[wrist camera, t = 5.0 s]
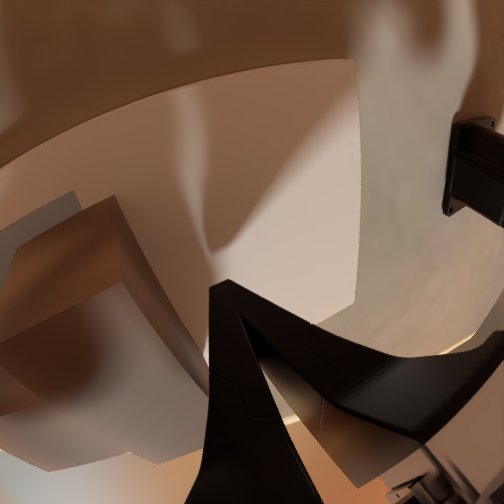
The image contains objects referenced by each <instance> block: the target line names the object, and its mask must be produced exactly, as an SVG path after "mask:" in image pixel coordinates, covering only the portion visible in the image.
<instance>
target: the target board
mask: <svg viewBox="0 0 504 504" xmlns="http://www.w3.org/2000/svg"><path fill="white" fill-rule="evenodd" d="M112 195H115V197H116V199H117V201H118V204H119V206H120V208H121V210H122V212H123V214H124V216H125V218H126V220H127V222H128V224H129V226H130V228H131V230H132V232H133V234H134V236H135V238H136V240H137V242H138V244H139V246H140V248H141V250H142V252H143V254H144V255H145V257H146V259H147V261H148V263H149V265H150V267H151V268H152V270H153V272H154V274H155V276H156V278H157V279H158V281H159V283H160V285H161V286H162V288H163V290H164V292H165V293H166V295H167V297H168V299H169V300H170V302H171V304H172V306H173V307H174V309H175V311H176V312H177V314H178V316H179V317H180V319H181V321H182V322H183V324H184V326H185V327H186V329H187V330H188V332H189V334H190V335H191V337H192V338H193V340H194V342H195V343H196V345H197V346H198V348H199V349H200V351H201V353H202V354H203V356H204V358H205V360H206V363H207V365H208V367H209V348H208V312H209V287H210V286H212V285H215V284H217V283H219V282H221V281H224V280H226V279H231V280H232V281H234V282H236V283H238V284H240V285H242V286H243V287H245V288H247V289H249V290H251V291H252V292H254V293H256V294H258V295H260V296H262V297H264V298H265V299H267V300H269V301H271V302H273V303H275V304H276V305H278V306H280V307H282V308H284V309H286V310H288V311H290V312H291V313H293V314H295V315H297V316H299V317H301V318H303V319H305V320H307V321H309V322H310V323H311V324H315V325H316V324H318V323H320V322H321V321H323V320H325V319H327V318H328V317H330V316H332V315H334V314H335V313H337V312H339V311H341V310H342V309H344V308H346V307H348V306H349V305H351V304H353V303H354V298H355V288H356V277H357V264H358V249H359V231H360V200H361V155H360V125H359V107H358V93H357V81H356V71H355V61H354V60H350V59H326V60H315V61H305V62H297V63H289V64H282V65H275V66H269V67H263V68H257V69H252V70H246V71H241V72H236V73H232V74H227V75H223V76H218V77H214V78H210V79H206V80H202V81H199V82H195V83H191V84H188V85H184V86H181V87H177V88H174V89H171V90H167V91H164V92H161V93H158V94H155V95H152V96H149V97H146V98H143V99H141V100H138V101H135V102H132V103H130V104H127V105H124V106H122V107H119V108H117V109H114V110H112V111H109V112H107V113H104V114H102V115H100V116H97V117H95V118H93V119H91V120H88V121H86V122H84V123H82V124H80V125H77V126H75V127H73V128H71V129H69V130H67V131H65V132H63V133H61V134H59V135H57V136H55V137H53V138H51V139H49V140H48V141H46V142H44V143H42V144H40V145H38V146H37V147H35V148H33V149H31V150H30V151H28V152H26V153H24V154H23V155H21V156H19V157H18V158H16V159H14V160H13V161H11V162H10V163H8V164H6V165H5V166H3V167H2V168H0V293H1V290H2V287H3V284H4V281H5V278H6V276H7V273H8V270H9V268H10V265H11V262H12V260H13V257H14V255H15V252H16V250H17V248H18V247H20V246H21V245H23V244H25V243H26V242H28V241H29V240H31V239H33V238H34V237H36V236H38V235H39V234H41V233H43V232H45V231H46V230H48V229H50V228H51V227H53V226H55V225H57V224H58V223H60V222H62V221H64V220H66V219H68V218H69V217H71V216H73V215H75V214H77V213H79V212H80V211H82V210H84V209H86V208H88V207H90V206H92V205H94V204H96V203H98V202H100V201H102V200H104V199H106V198H108V197H110V196H112Z"/></svg>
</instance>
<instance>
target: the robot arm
mask: <svg viewBox="0 0 504 504" xmlns="http://www.w3.org/2000/svg"><path fill="white" fill-rule="evenodd" d="M494 129H495V119H494V118H493V117H490V116H486V117H481V118H476V119H471V120H466V121H461V122H457V123H456V124H455V125H454V128H453V139H452V150H451V159H450V168H449V176H448V183H447V189H446V196H445V201H444V207H443V214H445V215H446V216H448V217H450V216H451V215H453V214H454V213H456V212H457V211H459V210H461V209H462V208H464V207H465V206H467V207H469V208H471V209H472V210H474V211H476V212H477V213H479V214H481V215H482V216H484V217H485V218H487V219H489V220H490V221H492V222H493V223H495V224H496V225H498V226H501V227H502V228H504V135H502V134H500V133H498V132H495V131H494ZM208 348H209V401H208V412H207V422H206V430H205V438H204V446H203V454H202V461H201V465H200V470H199V472H198V475H197V478H196V480H195V482H194V484H193V486H192V488H191V490H190V492H189V494H188V497H187V499H186V501H185V503H184V504H324V502H323V501H322V499H321V497H320V495H319V493H318V491H317V489H316V487H315V485H314V484H313V482H312V480H311V478H310V476H309V474H308V472H307V470H306V468H305V466H304V464H303V462H302V460H301V458H300V456H299V454H298V452H297V450H296V448H295V446H294V444H293V442H292V440H291V438H290V436H289V433H288V431H287V429H286V427H285V424H284V422H283V420H282V417H281V415H280V413H279V410H278V408H277V406H276V403H275V401H274V398H273V396H272V394H271V391H270V389H269V386H268V384H267V381H266V379H265V376H264V374H263V372H262V370H263V371H264V372H265V374H266V375H267V376H268V378H269V379H270V381H271V382H272V383H273V385H274V386H275V387H276V389H277V390H278V391H279V393H280V394H281V395H282V397H283V398H284V399H285V401H286V402H287V403H288V404H289V406H290V407H291V408H292V410H293V411H294V412H295V414H296V415H297V416H298V417H299V419H300V420H301V421H302V422H303V424H304V425H305V426H306V428H307V429H308V430H309V431H310V433H311V434H312V435H313V436H314V438H315V439H316V440H317V441H318V442H319V444H320V445H321V446H322V448H323V449H324V450H325V451H326V452H327V454H328V455H329V456H330V457H331V459H332V460H333V461H334V462H335V463H336V465H337V466H338V467H339V468H340V469H341V470H342V472H343V473H344V474H345V475H346V476H347V477H348V478H349V480H350V481H351V482H352V483H353V484H354V486H355V487H357V489H358V488H360V487H362V486H363V485H365V484H367V483H368V482H370V481H372V480H374V479H375V478H377V477H378V476H379V477H380V478H381V479H382V481H383V482H384V483H385V485H386V486H387V487H388V489H389V490H390V492H389V493H387V494H386V497H387V499H388V500H389V501H390V503H391V504H504V330H495V331H494V332H493V333H492V334H491V335H490V336H489V337H488V338H487V339H486V341H485V342H484V343H483V344H482V345H480V346H479V347H477V348H474V349H472V350H469V351H464V352H458V353H450V354H442V355H433V356H423V357H412V358H405V357H397V356H393V355H389V354H386V353H383V352H380V351H377V350H375V349H372V348H369V347H366V346H363V345H360V344H358V343H355V342H352V341H350V340H347V339H344V338H342V337H339V336H337V335H335V334H333V333H330V332H328V331H326V330H324V329H322V328H320V327H318V326H316V325H315V324H311V323H310V322H309V321H307V320H305V319H303V318H301V317H299V316H297V315H295V314H293V313H291V312H290V311H288V310H286V309H284V308H282V307H280V306H278V305H276V304H275V303H273V302H271V301H269V300H267V299H265V298H264V297H262V296H260V295H258V294H256V293H254V292H252V291H251V290H249V289H247V288H245V287H243V286H242V285H240V284H238V283H236V282H234V281H232V280H231V279H226V280H224V281H221V282H219V283H217V284H215V285H212V286H210V287H209V312H208ZM261 368H262V369H261Z"/></svg>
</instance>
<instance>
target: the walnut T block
mask: <svg viewBox="0 0 504 504" xmlns="http://www.w3.org/2000/svg"><path fill="white" fill-rule="evenodd" d="M208 401H209V367H208V365H207V363H206V360H205V358H204V356H203V354H202V353H201V351H200V349H199V348H198V346H197V345H196V343H195V342H194V340H193V338H192V337H191V335H190V334H189V332H188V330H187V329H186V327H185V326H184V324H183V322H182V321H181V319H180V317H179V316H178V314H177V312H176V311H175V309H174V307H173V306H172V304H171V302H170V300H169V299H168V297H167V295H166V293H165V292H164V290H163V288H162V286H161V285H160V283H159V281H158V279H157V278H156V276H155V274H154V272H153V270H152V268H151V267H150V265H149V263H148V261H147V259H146V257H145V255H144V254H143V252H142V250H141V248H140V246H139V244H138V242H137V240H136V238H135V236H134V234H133V232H132V230H131V228H130V226H129V224H128V222H127V220H126V218H125V216H124V214H123V212H122V210H121V208H120V206H119V204H118V201H117V199H116V197H115V195H112V196H110V197H108V198H106V199H104V200H102V201H100V202H98V203H96V204H94V205H92V206H90V207H88V208H86V209H84V210H82V211H80V212H79V213H77V214H75V215H73V216H71V217H69V218H68V219H66V220H64V221H62V222H60V223H58V224H57V225H55V226H53V227H51V228H50V229H48V230H46V231H45V232H43V233H41V234H39V235H38V236H36V237H34V238H33V239H31V240H29V241H28V242H26V243H25V244H23V245H21V246H20V247H18V248H17V250H16V252H15V255H14V257H13V260H12V262H11V265H10V268H9V270H8V273H7V276H6V278H5V281H4V284H3V287H2V290H1V293H0V449H2V450H4V451H6V452H7V453H9V454H11V455H13V456H15V457H17V458H19V459H21V460H23V461H25V462H27V463H29V464H32V465H34V466H36V467H38V468H40V469H43V470H45V471H47V472H51V471H56V470H61V469H65V468H71V467H75V466H79V465H84V464H88V463H91V462H96V461H99V460H103V459H107V458H111V457H114V456H117V455H121V454H124V453H127V452H131V453H133V454H135V455H137V456H139V457H142V458H144V459H146V460H148V461H150V462H153V463H155V464H161V463H163V462H166V461H169V460H172V459H175V458H178V457H181V456H184V455H186V454H189V453H192V452H194V451H197V450H199V449H202V448H203V446H204V438H205V430H206V422H207V412H208Z"/></svg>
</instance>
